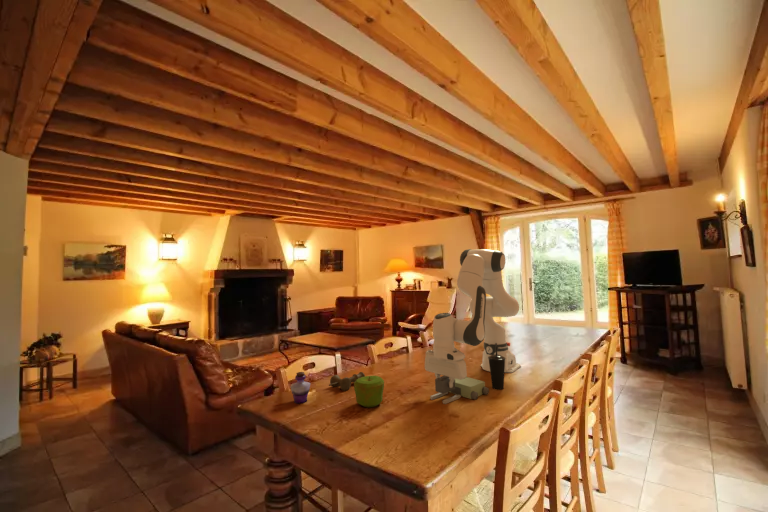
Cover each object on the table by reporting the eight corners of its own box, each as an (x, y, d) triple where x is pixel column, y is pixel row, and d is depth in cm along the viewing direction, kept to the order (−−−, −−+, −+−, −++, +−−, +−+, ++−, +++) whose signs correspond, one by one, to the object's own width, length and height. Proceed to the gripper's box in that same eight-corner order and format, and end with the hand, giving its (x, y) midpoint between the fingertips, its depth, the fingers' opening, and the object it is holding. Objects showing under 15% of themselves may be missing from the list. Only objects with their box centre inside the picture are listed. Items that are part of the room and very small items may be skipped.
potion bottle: (314, 398, 148) (314, 370, 149) (305, 406, 140) (304, 376, 141) (296, 397, 151) (296, 369, 151) (286, 404, 142) (285, 374, 143)
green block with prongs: (453, 383, 163) (453, 373, 163) (489, 393, 148) (488, 382, 149) (420, 395, 149) (420, 383, 149) (456, 408, 134) (455, 395, 134)
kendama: (369, 384, 167) (335, 394, 153) (356, 381, 174) (323, 390, 160) (368, 372, 167) (334, 380, 154) (356, 369, 174) (322, 376, 161)
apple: (368, 396, 149) (368, 370, 149) (391, 402, 141) (390, 374, 142) (348, 405, 139) (347, 377, 140) (370, 413, 131) (370, 382, 132)
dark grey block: (447, 386, 149) (447, 373, 149) (455, 389, 146) (454, 375, 146) (435, 391, 144) (435, 377, 144) (442, 393, 141) (442, 379, 141)
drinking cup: (487, 389, 154) (485, 344, 155) (490, 384, 161) (489, 341, 162) (505, 391, 151) (503, 345, 152) (508, 386, 157) (506, 342, 158)
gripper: (420, 349, 151) (421, 381, 150) (458, 357, 136) (459, 393, 135) (430, 347, 155) (431, 378, 155) (468, 354, 140) (469, 389, 139)
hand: (445, 385), depth 145 cm, fingers closed on dark grey block, 4 cm apart
